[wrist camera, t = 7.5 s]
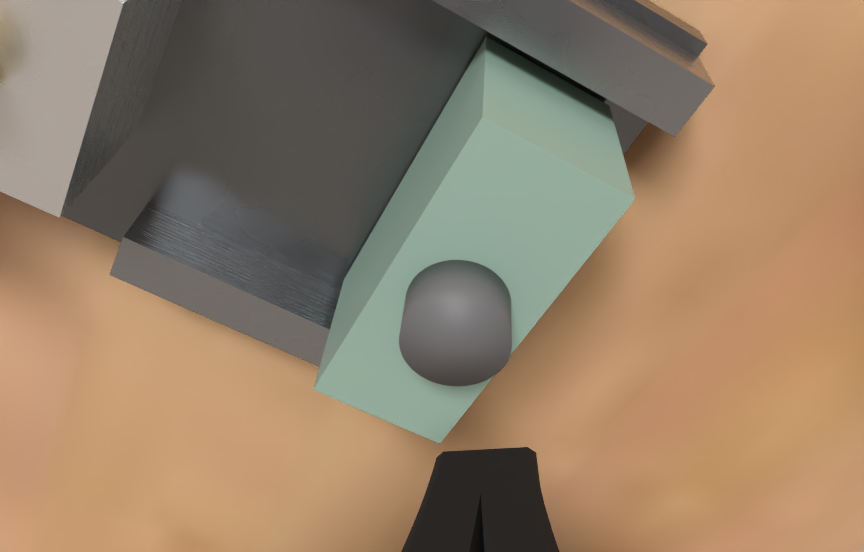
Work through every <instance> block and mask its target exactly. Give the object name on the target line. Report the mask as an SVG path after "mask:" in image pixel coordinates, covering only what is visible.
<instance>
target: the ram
mask: <svg viewBox="0 0 864 552" xmlns="http://www.w3.org/2000/svg"><path fill="white" fill-rule="evenodd" d="M634 200H635V196H634V193H633V189H632V185H631V182H630V178H629V175H628V171H627V167H626V164H625V160H624V156H623V153H622V149H621V146H620V142H619V138H618V135H617V131H616V127H615V124H614V120H613V117H612V113H611V109H610V106H609V105H607V104H606V103H604V102H602V101H600V100H599V99H597V98H595V97H593V96H591V95H590V94H588V93H586V92H584V91H583V90H581V89H579V88H577V87H575V86H574V85H572V84H570V83H568V82H566V81H565V80H563V79H561V78H559V77H558V76H556V75H554V74H552V73H550V72H549V71H547V70H545V69H543V68H542V67H540V66H538V65H536V64H534V63H533V62H531V61H529V60H527V59H526V58H524V57H522V56H520V55H518V54H517V53H515V52H513V51H511V50H510V49H508V48H506V47H504V46H502V45H501V44H499V43H497V42H495V41H494V40H492V39H490V38H488V37H486V38H485V39H484V41H483V43H482V44H481V46H480V48H479V50H478V51H477V53H476V55H475V56H474V58H473V60H472V62H471V63H470V65H469V67H468V68H467V70H466V72H465V73H464V75H463V77H462V79H461V80H460V82H459V84H458V85H457V87H456V89H455V91H454V92H453V94H452V96H451V97H450V99H449V101H448V103H447V104H446V106H445V108H444V109H443V111H442V113H441V114H440V116H439V118H438V120H437V121H436V123H435V125H434V126H433V128H432V130H431V132H430V133H429V135H428V137H427V138H426V140H425V142H424V144H423V145H422V147H421V149H420V150H419V152H418V154H417V155H416V157H415V159H414V161H413V162H412V164H411V166H410V167H409V169H408V171H407V173H406V174H405V176H404V178H403V179H402V181H401V183H400V185H399V186H398V188H397V190H396V191H395V193H394V195H393V196H392V198H391V200H390V202H389V203H388V205H387V207H386V208H385V210H384V212H383V214H382V215H381V217H380V219H379V220H378V222H377V224H376V225H375V227H374V229H373V231H372V232H371V234H370V236H369V237H368V239H367V241H366V243H365V244H364V246H363V248H362V249H361V251H360V253H359V255H358V256H357V258H356V260H355V261H354V263H353V265H352V266H351V268H350V270H349V272H348V273H347V275H346V277H345V278H344V281H343V285H342V288H341V292H340V295H339V299H338V303H337V306H336V310H335V313H334V317H333V320H332V324H331V328H330V331H329V335H328V338H327V342H326V346H325V349H324V353H323V356H322V360H321V363H320V367H319V371H318V374H317V378H316V381H315V385H314V389H313V390H315V391H318V392H320V393H322V394H325V395H327V396H329V397H332V398H334V399H336V400H339V401H341V402H343V403H346V404H348V405H350V406H353V407H355V408H357V409H360V410H362V411H364V412H367V413H369V414H371V415H374V416H376V417H378V418H381V419H383V420H385V421H388V422H390V423H392V424H395V425H397V426H399V427H402V428H404V429H406V430H409V431H411V432H413V433H416V434H418V435H420V436H423V437H425V438H427V439H430V440H432V441H434V442H437V443H439V444H440V443H441V442H442V441H443V439H444V438H445V437H446V436H447V434H448V433H449V432H450V431H451V429H452V428H453V427H454V426H455V424H456V423H457V422H458V421H459V419H460V418H461V417H462V416H463V414H464V413H465V412H466V411H467V409H468V408H469V407H470V405H471V404H472V403H473V402H474V400H475V399H476V398H477V397H478V395H479V394H480V393H481V392H482V390H483V389H484V388H485V387H486V385H487V384H488V383H489V382H490V380H491V379H492V378H493V377H494V375H496V374H497V373H498V372H499V371H500V370H501V369H502V368H503V367H504V366H505V364H506V363H507V361H508V359H509V357H510V355H511V354H512V353H513V352H514V350H515V349H516V348H517V347H518V345H519V344H520V343H521V342H522V340H523V339H524V338H525V337H526V335H527V334H528V333H529V332H530V330H531V329H532V328H533V327H534V325H535V324H536V323H537V322H538V320H539V319H540V318H541V316H542V315H543V314H544V313H545V311H546V310H547V309H548V308H549V306H550V305H551V304H552V303H553V301H554V300H555V299H556V298H557V296H558V295H559V294H560V293H561V291H562V290H563V289H564V288H565V286H566V285H567V284H568V283H569V281H570V280H571V279H572V278H573V276H574V275H575V274H576V273H577V271H578V270H579V269H580V268H581V266H582V265H583V264H584V263H585V261H586V260H587V259H588V258H589V256H590V255H591V254H592V253H593V251H594V250H595V249H596V248H597V246H598V245H599V244H600V243H601V241H602V240H603V239H604V238H605V236H606V235H607V234H608V232H609V231H610V230H611V229H612V227H613V226H614V225H615V224H616V222H617V221H618V220H619V219H620V217H621V216H622V215H623V214H624V212H625V211H626V210H627V209H628V207H629V206H630V205H631V204H632V202H633V201H634Z"/></svg>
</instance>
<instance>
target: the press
mask: <svg viewBox="0 0 864 552" xmlns="http://www.w3.org/2000/svg"><path fill="white" fill-rule="evenodd" d="M486 37H488V38H490V39H492V40H494V41H495V42H497V43H499V44H501V45H502V46H504V47H506V48H508V49H510V50H511V51H513V52H515V53H517V54H518V55H520V56H522V57H524V58H526V59H527V60H529V61H531V62H533V63H534V64H536V65H538V66H540V67H542V68H543V69H545V70H547V71H549V72H550V73H552V74H554V75H556V76H558V77H559V78H561V79H563V80H565V81H566V82H568V83H570V84H572V85H574V86H575V87H577V88H579V89H581V90H583V91H584V92H586V93H588V94H590V95H591V96H593V97H595V98H597V99H599V100H600V101H602V102H604V103H606V104H607V105H609V106H610V109H611V113H612V117H613V120H614V124H615V127H616V131H617V135H618V138H619V142H620V146H621V149H622V153H623V155H624V154H625V152H626V151H627V150H628V148H629V147H630V146H631V144H632V143H633V142H634V140H635V139H636V138H637V136H638V135H639V134H640V132H641V131H642V130H643V128H644V127H645V126H646V125H647V123H648V122H649V123H651V124H653V125H654V126H656V127H658V128H660V129H661V130H663V131H665V132H667V133H668V134H670V135H672V136H674V137H675V136H676V135H677V134H678V132H679V131H680V130H681V129H682V127H683V126H684V125H685V123H686V122H687V121H688V120H689V118H690V117H691V116H692V115H693V113H694V112H695V111H696V110H697V108H698V107H699V106H700V104H701V103H702V102H703V101H704V99H705V98H706V97H707V96H708V94H709V93H710V92H711V91H712V89H713V88H714V87H715V85H714V84H713V82H712V80H711V78H710V77H709V75H708V73H707V71H706V70H705V68H704V66H703V65H702V63H701V61H700V59H699V58H698V56H699V55H700V53H701V52H702V51H703V49H704V48H705V47H706V45H707V42H706V41H705V39H704V38H703V36H702V34H701V33H700V31H698V30H697V29H695V28H693V27H692V26H690V25H688V24H687V23H685V22H683V21H682V20H680V19H678V18H677V17H675V16H673V15H672V14H670V13H668V12H667V11H665V10H663V9H662V8H660V7H658V6H657V5H655V4H654V3H652V2H650V1H649V0H182V2H181V5H180V8H179V10H178V13H177V16H176V19H175V22H174V25H173V28H172V31H171V34H170V37H169V40H168V43H167V46H166V49H165V52H164V55H163V58H162V60H161V63H160V66H159V69H158V72H157V75H156V78H155V81H154V84H153V87H152V90H151V93H150V96H149V99H148V102H147V105H146V107H145V110H144V113H143V116H142V119H141V122H140V125H139V128H138V129H137V130H136V131H135V132H134V134H133V135H132V136H131V137H130V138H129V139H128V140H127V142H126V143H125V144H124V145H123V146H122V147H121V148H120V150H119V151H118V152H117V153H116V154H115V155H114V156H113V158H112V159H111V160H110V161H109V162H108V163H107V164H106V165H105V167H104V168H103V169H102V170H101V171H100V172H99V173H98V175H97V176H96V177H95V178H94V179H93V180H92V181H91V183H90V184H89V185H88V186H87V187H86V188H85V189H84V191H83V192H82V193H81V194H80V195H79V196H78V197H77V199H76V200H75V201H74V202H73V203H72V204H71V205H70V206H69V208H68V209H67V210H66V211H65V212H64V213H63V214H62V216H64V217H66V218H68V219H70V220H73V221H75V222H77V223H79V224H82V225H84V226H86V227H88V228H91V229H93V230H95V231H97V232H100V233H102V234H104V235H106V236H108V237H111V238H113V239H115V240H117V241H120V242H121V244H120V247H119V250H118V253H117V255H116V258H115V261H114V264H113V266H112V269H111V272H110V275H111V276H113V277H116V278H118V279H120V280H123V281H125V282H127V283H129V284H132V285H134V286H136V287H139V288H141V289H143V290H145V291H148V292H150V293H152V294H155V295H157V296H159V297H161V298H164V299H166V300H168V301H171V302H173V303H175V304H178V305H180V306H182V307H184V308H187V309H189V310H191V311H194V312H196V313H198V314H200V315H203V316H205V317H207V318H210V319H212V320H214V321H216V322H219V323H221V324H223V325H226V326H228V327H230V328H232V329H235V330H237V331H239V332H242V333H244V334H246V335H249V336H251V337H253V338H255V339H258V340H260V341H262V342H265V343H267V344H269V345H271V346H274V347H276V348H278V349H281V350H283V351H285V352H287V353H290V354H292V355H294V356H297V357H299V358H301V359H303V360H306V361H308V362H310V363H313V364H315V365H317V366H320V363H321V360H322V356H323V353H324V349H325V346H326V342H327V338H328V335H329V331H330V328H331V324H332V320H333V317H334V313H335V310H336V306H337V303H338V299H339V295H340V292H341V288H342V285H343V281H344V278H345V277H346V275H347V273H348V272H349V270H350V268H351V266H352V265H353V263H354V261H355V260H356V258H357V256H358V255H359V253H360V251H361V249H362V248H363V246H364V244H365V243H366V241H367V239H368V237H369V236H370V234H371V232H372V231H373V229H374V227H375V225H376V224H377V222H378V220H379V219H380V217H381V215H382V214H383V212H384V210H385V208H386V207H387V205H388V203H389V202H390V200H391V198H392V196H393V195H394V193H395V191H396V190H397V188H398V186H399V185H400V183H401V181H402V179H403V178H404V176H405V174H406V173H407V171H408V169H409V167H410V166H411V164H412V162H413V161H414V159H415V157H416V155H417V154H418V152H419V150H420V149H421V147H422V145H423V144H424V142H425V140H426V138H427V137H428V135H429V133H430V132H431V130H432V128H433V126H434V125H435V123H436V121H437V120H438V118H439V116H440V114H441V113H442V111H443V109H444V108H445V106H446V104H447V103H448V101H449V99H450V97H451V96H452V94H453V92H454V91H455V89H456V87H457V85H458V84H459V82H460V80H461V79H462V77H463V75H464V73H465V72H466V70H467V68H468V67H469V65H470V63H471V62H472V60H473V58H474V56H475V55H476V53H477V51H478V50H479V48H480V46H481V44H482V43H483V41H484V39H485V38H486Z"/></svg>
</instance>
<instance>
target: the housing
mask: <svg viewBox="0 0 864 552" xmlns="http://www.w3.org/2000/svg"><path fill="white" fill-rule="evenodd" d="M181 2H182V0H0V192H2V193H5V194H7V195H9V196H11V197H14V198H16V199H18V200H20V201H23V202H25V203H27V204H29V205H32V206H34V207H36V208H38V209H41V210H43V211H45V212H47V213H50V214H52V215H54V216H56V217H59V218H60V217H61V216H62V214H63V213H64V212H65V211H66V210H67V209H68V208H69V206H70V205H71V204H72V203H73V202H74V201H75V200H76V199H77V197H78V196H79V195H80V194H81V193H82V192H83V191H84V189H85V188H86V187H87V186H88V185H89V184H90V183H91V181H92V180H93V179H94V178H95V177H96V176H97V175H98V173H99V172H100V171H101V170H102V169H103V168H104V167H105V165H106V164H107V163H108V162H109V161H110V160H111V159H112V158H113V156H114V155H115V154H116V153H117V152H118V151H119V150H120V148H121V147H122V146H123V145H124V144H125V143H126V142H127V140H128V139H129V138H130V137H131V136H132V135H133V134H134V132H135V131H136V130H137V129H138V128H139V125H140V122H141V119H142V116H143V113H144V110H145V107H146V105H147V102H148V99H149V96H150V93H151V90H152V87H153V84H154V81H155V78H156V75H157V72H158V69H159V66H160V63H161V60H162V58H163V55H164V52H165V49H166V46H167V43H168V40H169V37H170V34H171V31H172V28H173V25H174V22H175V19H176V16H177V13H178V10H179V8H180V5H181Z"/></svg>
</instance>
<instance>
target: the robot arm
mask: <svg viewBox="0 0 864 552" xmlns="http://www.w3.org/2000/svg"><path fill="white" fill-rule="evenodd" d="M402 552H559V550H558V547H557V544H556V541H555V538H554V535H553V532H552V529H551V525H550V522H549V519H548V515H547V512H546V508H545V505H544V501H543V497H542V493H541V488H540V482H539V473H538V465H537V457H536V452H534V451H533V450H531V449H530V448H528V447H523V448H504V449H485V450H467V451H448V452H442V453H441V454H440V455H439V456H438V457H437V458H436V462H435V465H434V469H433V472H432V475H431V478H430V481H429V484H428V487H427V490H426V493H425V496H424V499H423V501H422V504H421V506H420V509H419V512H418V514H417V517H416V519H415V522H414V524H413V526H412V529H411V531H410V534H409V536H408V539H407V541H406V543H405V545H404V547H403V550H402Z"/></svg>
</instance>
